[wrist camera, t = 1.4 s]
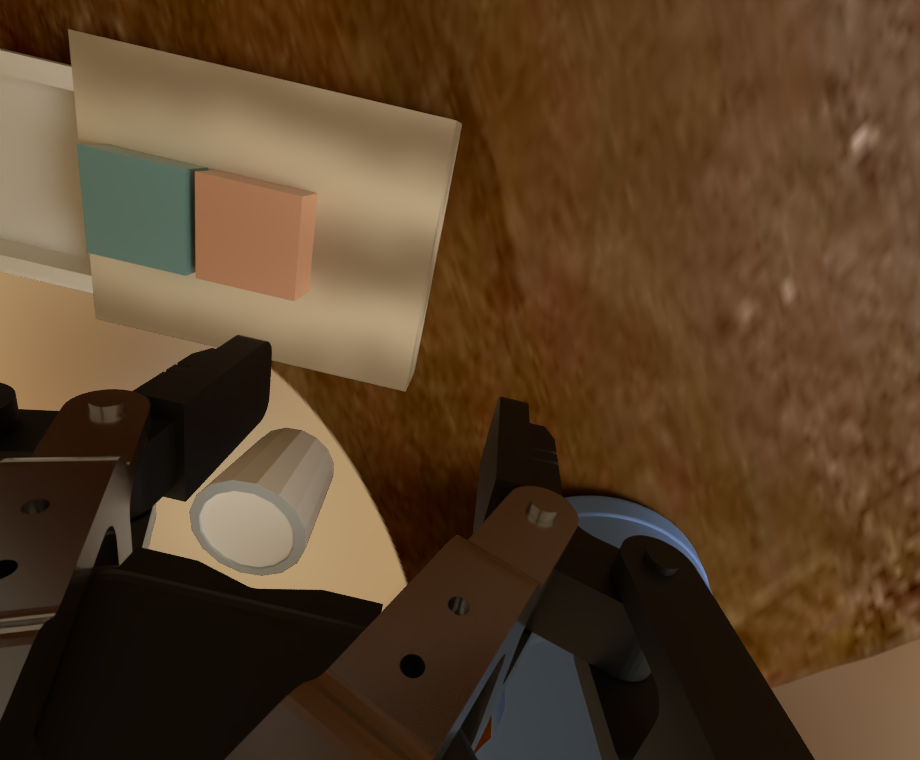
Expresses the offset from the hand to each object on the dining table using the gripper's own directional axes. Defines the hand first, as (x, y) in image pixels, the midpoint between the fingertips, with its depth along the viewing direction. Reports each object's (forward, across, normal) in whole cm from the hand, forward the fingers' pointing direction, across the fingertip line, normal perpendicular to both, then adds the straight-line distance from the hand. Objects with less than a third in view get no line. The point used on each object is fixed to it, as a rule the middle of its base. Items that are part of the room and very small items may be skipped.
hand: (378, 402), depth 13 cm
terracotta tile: (+15, +10, 0) cm, 17 cm away
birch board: (+18, +10, 0) cm, 20 cm away
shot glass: (+18, +8, +16) cm, 25 cm away
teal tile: (+15, +15, 0) cm, 21 cm away
